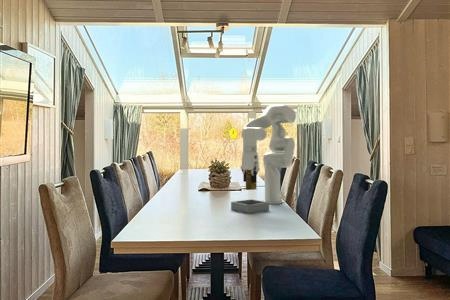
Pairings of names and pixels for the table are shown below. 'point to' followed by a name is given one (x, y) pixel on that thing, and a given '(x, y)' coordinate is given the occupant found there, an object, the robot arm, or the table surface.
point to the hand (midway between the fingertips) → (249, 181)
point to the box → (250, 206)
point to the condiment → (249, 181)
